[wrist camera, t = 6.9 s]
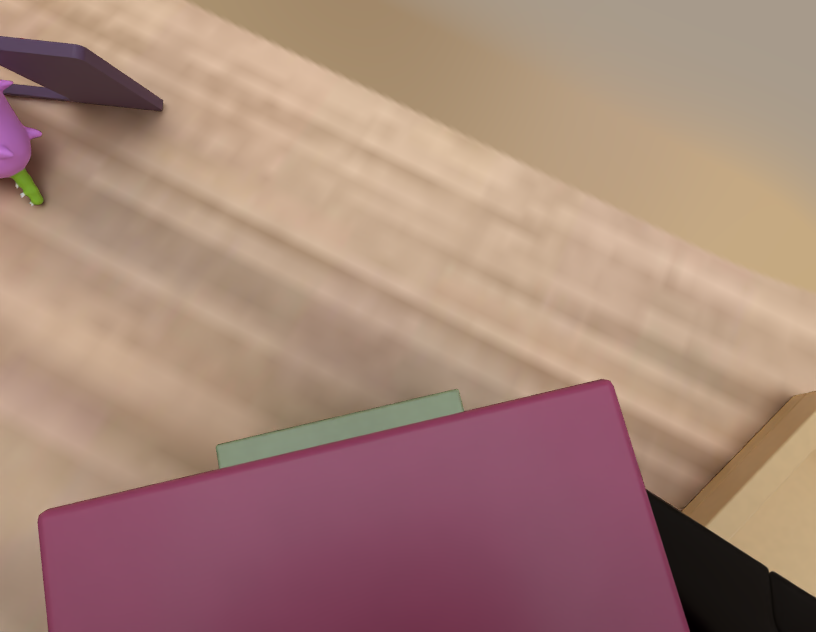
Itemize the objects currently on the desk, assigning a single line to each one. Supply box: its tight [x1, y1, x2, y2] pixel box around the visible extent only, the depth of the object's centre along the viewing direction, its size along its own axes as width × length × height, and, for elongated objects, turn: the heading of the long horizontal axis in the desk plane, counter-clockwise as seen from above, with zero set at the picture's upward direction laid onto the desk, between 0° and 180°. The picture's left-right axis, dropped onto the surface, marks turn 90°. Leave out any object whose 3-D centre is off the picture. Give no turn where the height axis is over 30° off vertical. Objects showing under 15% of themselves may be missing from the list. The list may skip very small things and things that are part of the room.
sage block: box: [216, 389, 464, 469], centre depth 20 cm, size 7×7×4 cm
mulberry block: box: [38, 379, 690, 632], centre depth 9 cm, size 4×5×7 cm
